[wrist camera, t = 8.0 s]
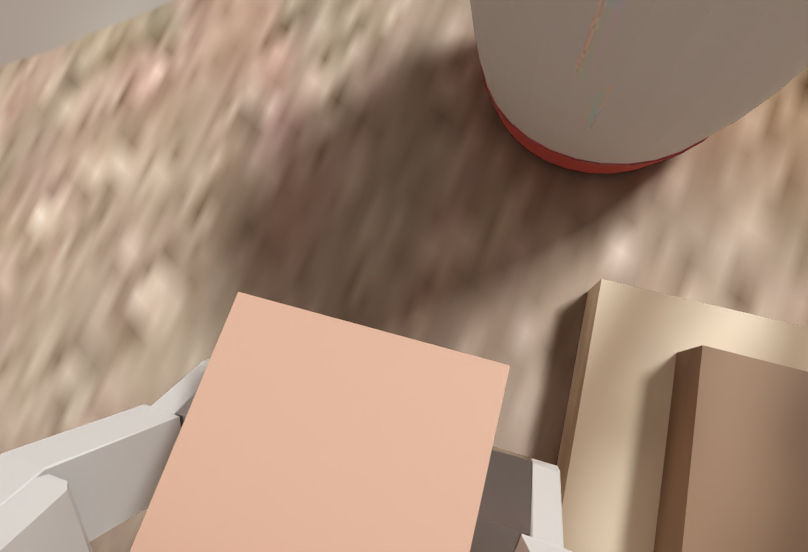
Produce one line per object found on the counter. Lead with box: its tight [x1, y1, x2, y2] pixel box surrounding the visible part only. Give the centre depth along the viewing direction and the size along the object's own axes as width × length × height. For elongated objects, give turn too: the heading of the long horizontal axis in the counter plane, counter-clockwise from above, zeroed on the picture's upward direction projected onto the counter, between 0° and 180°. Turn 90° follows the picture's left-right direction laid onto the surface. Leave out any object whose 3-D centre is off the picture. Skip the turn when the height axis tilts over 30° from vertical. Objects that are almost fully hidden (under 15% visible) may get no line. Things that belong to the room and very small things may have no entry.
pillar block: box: [130, 292, 510, 552], centre depth 10 cm, size 4×4×9 cm
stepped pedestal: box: [557, 279, 808, 552], centre depth 17 cm, size 16×14×4 cm
